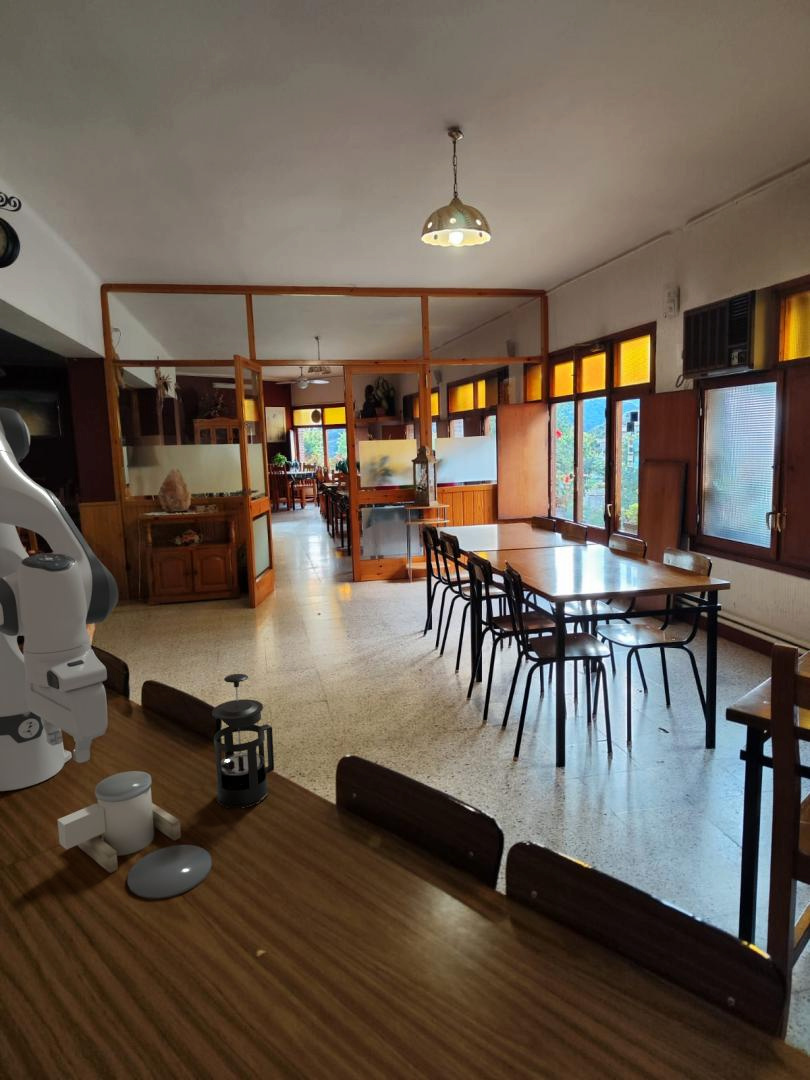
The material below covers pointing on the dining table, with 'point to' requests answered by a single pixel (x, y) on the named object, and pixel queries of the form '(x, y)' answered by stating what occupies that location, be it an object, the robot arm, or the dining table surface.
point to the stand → (109, 856)
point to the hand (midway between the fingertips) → (68, 751)
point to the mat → (169, 871)
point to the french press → (241, 765)
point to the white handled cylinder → (114, 815)
